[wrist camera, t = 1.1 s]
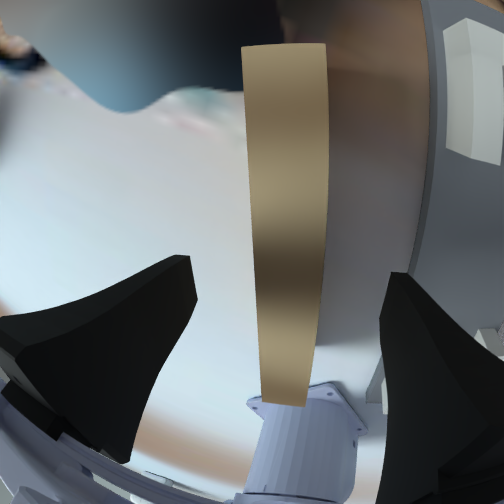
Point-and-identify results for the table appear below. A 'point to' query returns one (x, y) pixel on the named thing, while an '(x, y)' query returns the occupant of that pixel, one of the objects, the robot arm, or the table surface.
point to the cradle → (462, 174)
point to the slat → (287, 207)
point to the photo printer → (137, 500)
